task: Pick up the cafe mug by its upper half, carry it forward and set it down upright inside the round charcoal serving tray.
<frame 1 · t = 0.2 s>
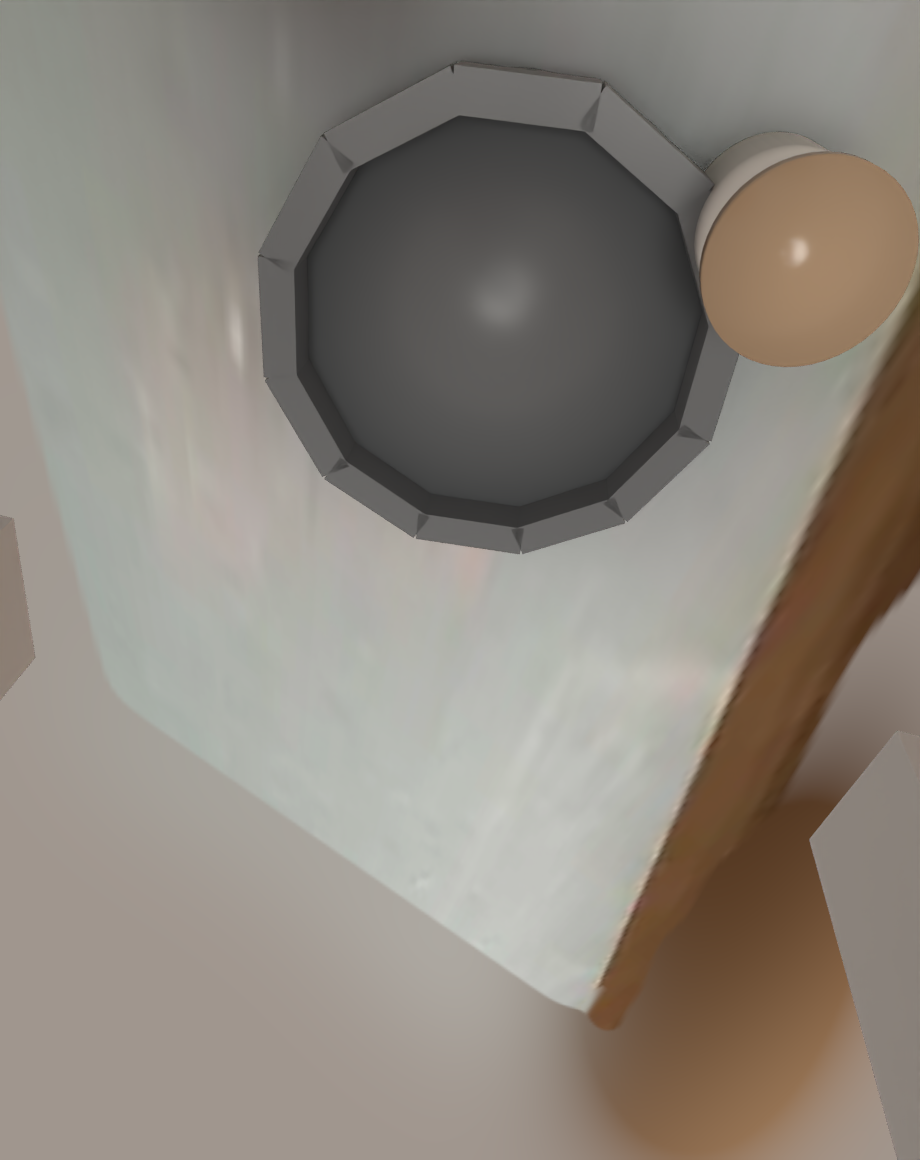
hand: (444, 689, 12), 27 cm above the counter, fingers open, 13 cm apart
tray: (498, 328, 36), on the counter
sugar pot: (762, 216, 32), on the counter
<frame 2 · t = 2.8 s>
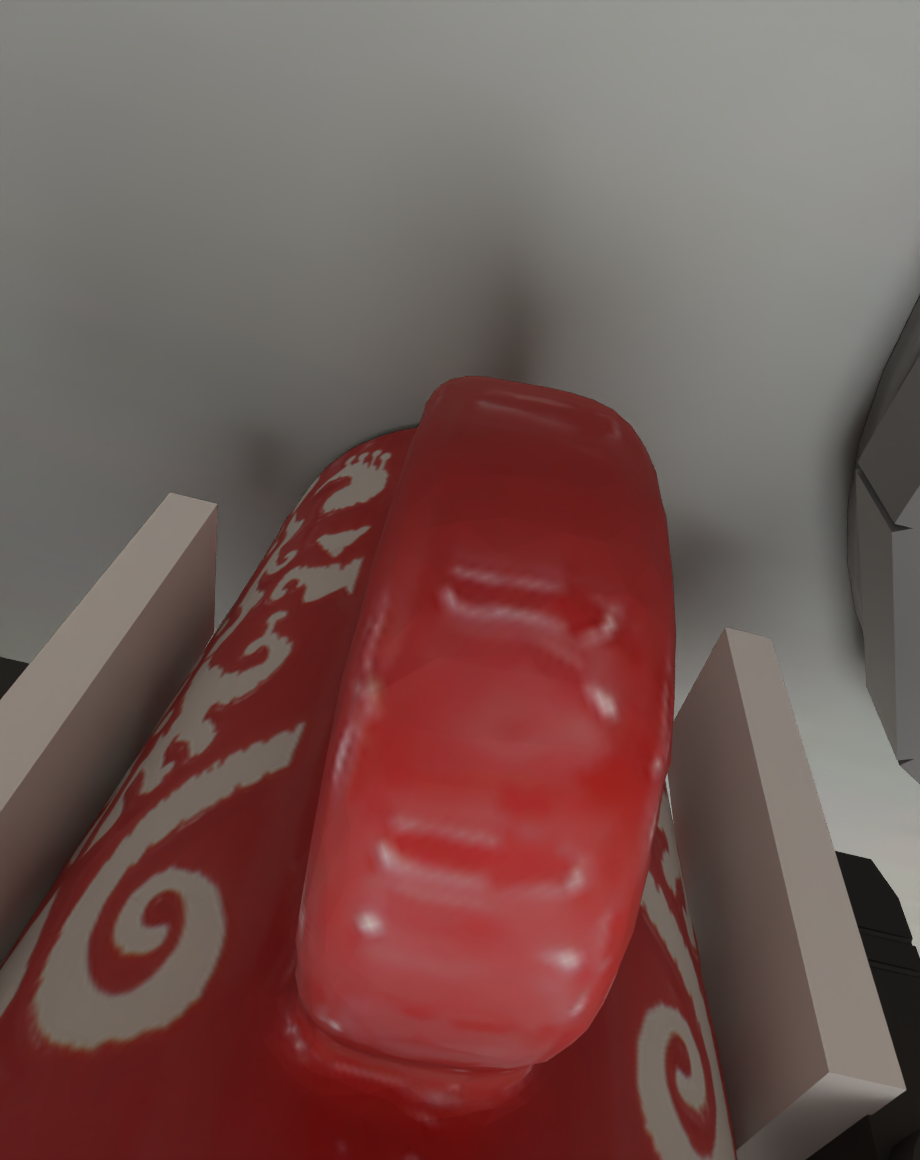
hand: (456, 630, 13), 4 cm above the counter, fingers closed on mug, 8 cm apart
mug: (480, 507, 16), on the counter, touching gripper
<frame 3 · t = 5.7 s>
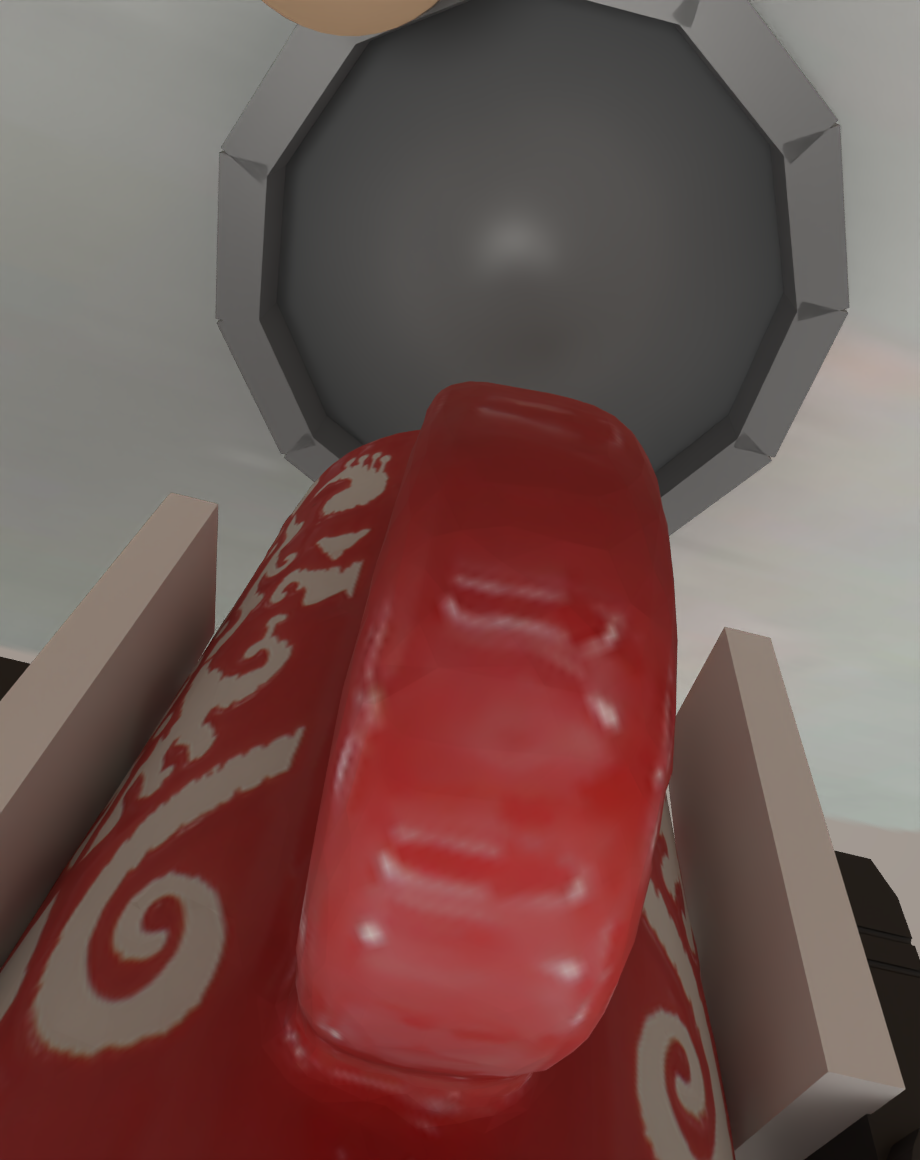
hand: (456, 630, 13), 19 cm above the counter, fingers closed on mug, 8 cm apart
tray: (521, 288, 29), on the counter
mug: (479, 509, 16), point 15 cm above the counter, touching gripper
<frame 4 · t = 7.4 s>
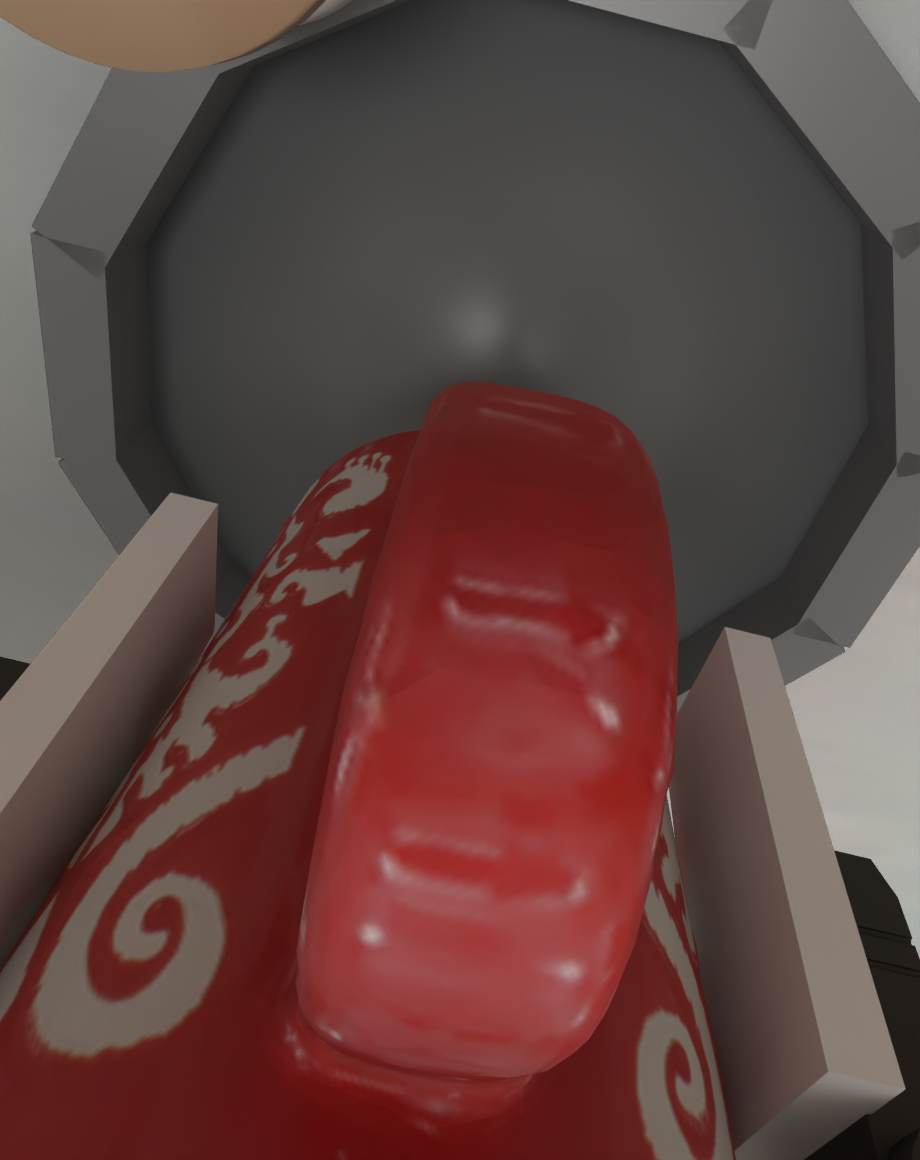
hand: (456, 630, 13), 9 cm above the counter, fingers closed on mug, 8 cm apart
tray: (493, 407, 20), on the counter
mug: (479, 509, 16), point 5 cm above the counter, touching gripper
when the fingers open (6 cm above the counter, at t = 8.5 s): mug stays where it is, resting on tray.
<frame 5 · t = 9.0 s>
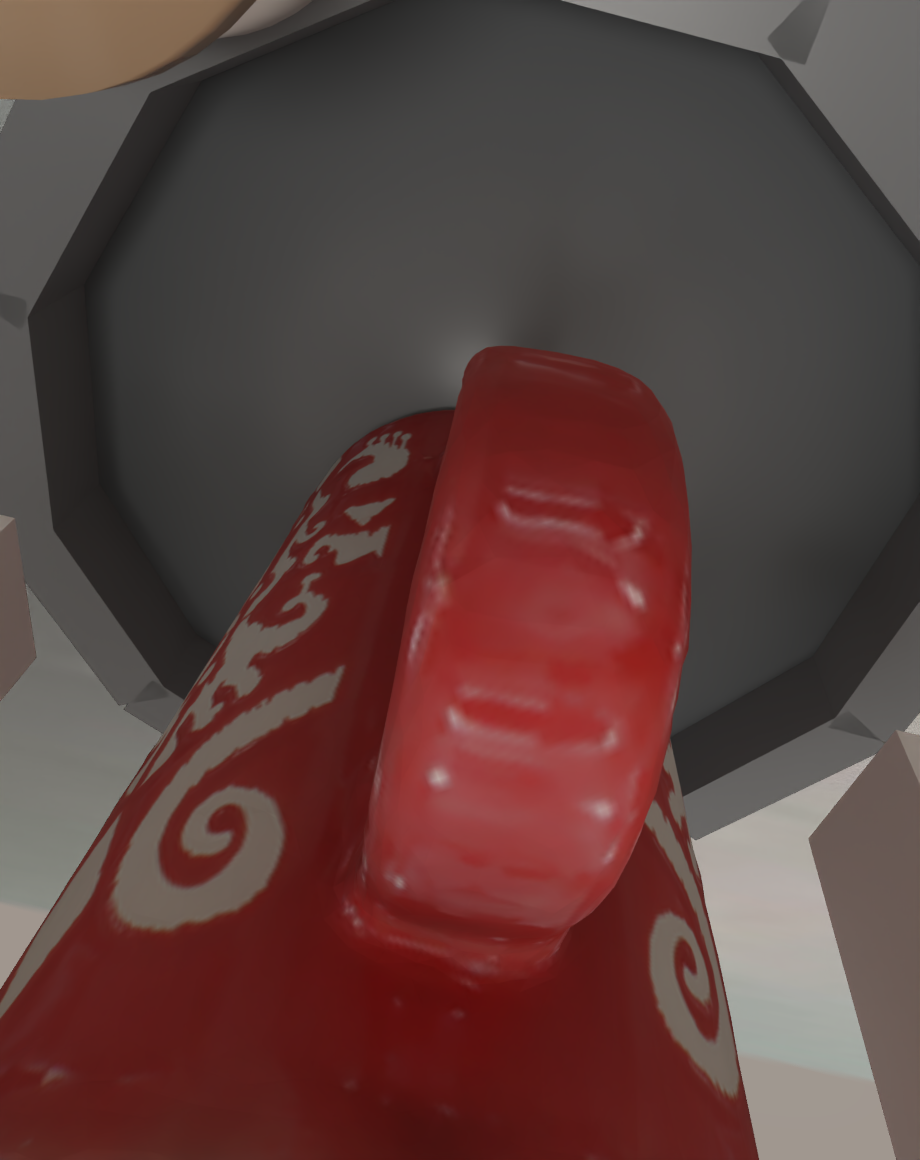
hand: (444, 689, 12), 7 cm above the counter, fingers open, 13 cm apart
tray: (487, 465, 18), on the counter
mug: (492, 488, 17), point 1 cm above the counter, touching tray
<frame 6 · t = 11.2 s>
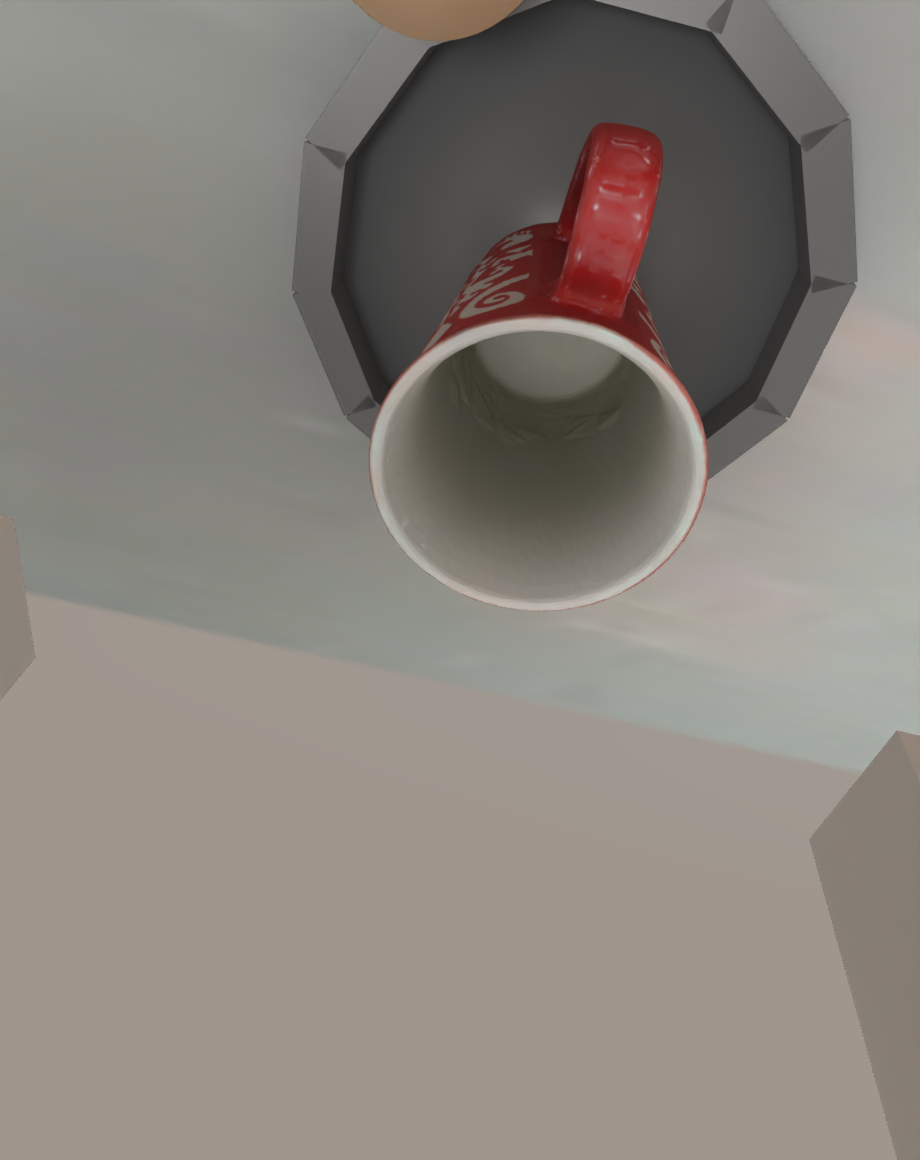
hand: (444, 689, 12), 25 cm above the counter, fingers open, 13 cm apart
tray: (563, 266, 32), on the counter
mug: (567, 275, 31), point 1 cm above the counter, touching tray
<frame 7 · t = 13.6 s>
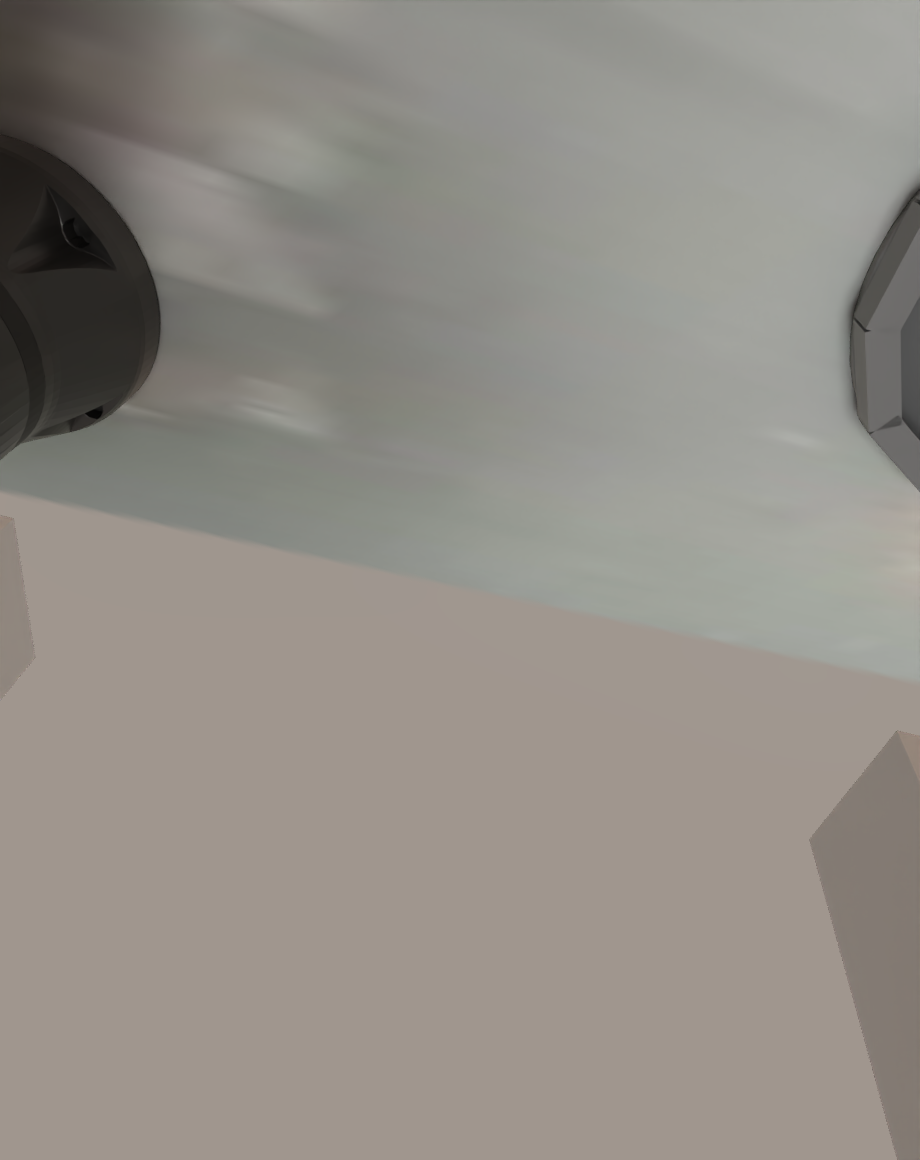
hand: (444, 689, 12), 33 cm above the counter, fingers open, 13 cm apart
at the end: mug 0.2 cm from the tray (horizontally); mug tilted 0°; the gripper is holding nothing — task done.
